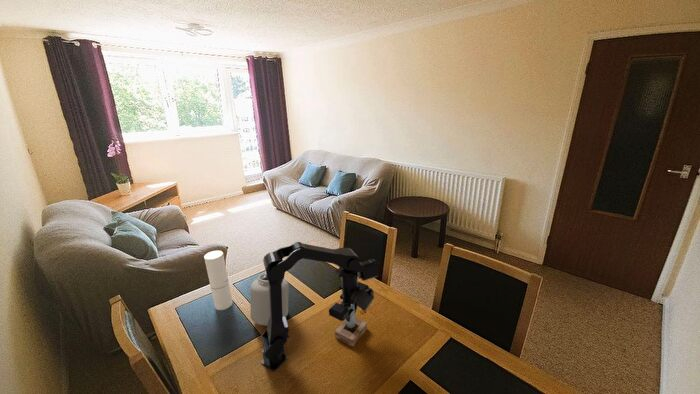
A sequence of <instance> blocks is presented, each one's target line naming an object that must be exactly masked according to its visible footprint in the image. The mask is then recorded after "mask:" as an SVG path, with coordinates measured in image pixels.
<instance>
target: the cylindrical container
mask: <svg viewBox="0 0 700 394" xmlns="http://www.w3.org/2000/svg"><path fill="white" fill-rule="evenodd" d="M203 258H204V259H203V260H204V262H205V267H206V273H207V277H208V281H209V286H210V291H211V295H212V298H213V299H212V300H213V303H214V308H215V310H217V311H224V310H227V309H228V308H230V307H231V306H232V305H233V298H232V297H233V296H232V292H231V287H230V283H229V277H228V271H227V267H226V261H225V257H224V252H223V251H222V250H212V251H209V252H207V253H206V254H204V256H203Z"/></svg>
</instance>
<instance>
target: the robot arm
mask: <svg viewBox="0 0 700 394" xmlns="http://www.w3.org/2000/svg"><path fill="white" fill-rule="evenodd" d="M284 258H285V259H284ZM302 259H304V260H310V261H315V262H321V263H326V264H327V263H329V264H333V265H335V266H337V267H338V268H337V269H336V270H335V271H334V272H335V274H336V275H337V277H338V278H341V285H340V286H339V290H341V295H339V299H341V300H342V301H341V302H340V303H339V302H335V303H334V304H332V306H331V307H330V308H328V315H329V316H330V317H332V318H334V319H337V320H338V321H340V322H344V321H345V319H346V320H347V321H348V322H350V316H351V313H352V312H353V311H354V310H353V309H351V304H352V305H354V306H355V314H356V313H357V310H358V307H359V308H360V309H361V310H362V311H367V309H368V308H369V307H370V306H371V305H372V302H373V300H374V299H375V296H374V295H375V293H374V289H372V288H370V287H369V285H368V284H366V283H362V282H360V281H359V280H361V281H363V282H364V281H365V282H366V281H368V280H371V279H375V278H378V277H379V275H380V271H379V268H378V265H377V261H376V260H375V259H374V258H371V259H368V260H365V261H360V258H359V256H358V255H357V254H356V253H355V252H354V250H353V249H352V248H349V247H339V248H328V247H322V246H318V245H314V244H313V245H312V244H307V243H303V242H301V241H295V242H293V243H292V244H289V245H287V246H282V247H279V248H278V249H275V250H274V251H270V252H268V253H266V254H265V256H264V257H263V259H262V261H263V266H264V270H265V273H266V274H267V278H268V283H269V304H270V318H269V321H268V325H266V329H265V331H263V333H262V334H261V336H260V337H261V342H262V348H263V349H262V350H261V352H262V360H261V361H260V363H261V364H262V365H263V366H264V367H266V368H267V369H269V370H271V372H276V370H277V369H279V367H280V366H281V365H282V364H283V363H285V361H286V360H287V359H288V356H287V355H286V354H285V344H287V343H288V339H289V338H290V334H289V329H290V325H289V322H288V320H287V316H283V315H282V281H283V279H284V278H285V275H286V274H285V273H286V272H287V271H289V270H291V269H292V268H293V267H294V266H295V265H296V264H297V263H298V262H299V261H301V260H302Z"/></svg>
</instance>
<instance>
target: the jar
mask: <svg viewBox="0 0 700 394" xmlns="http://www.w3.org/2000/svg"><path fill="white" fill-rule="evenodd" d="M249 288H250V290H249V291H250V298H249V299H250V301H249V302H250V303H249V304H250V306H249V307H250V308H249V309H250V319H251V320H252V322H253V323H255V324H257V325H259V326H267V325H268V321H269V318H270V304H269V283H268V278H267V274H266V272H264V273H261V274H260V275H258V276H257V278H256V279H255V280H253V282H251V284H250V287H249ZM288 314H289V281H288V279H286V278H285V277H284V279H283V281H282V315H283V316H286V317H287V316H288Z"/></svg>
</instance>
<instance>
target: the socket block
mask: <svg viewBox="0 0 700 394" xmlns="http://www.w3.org/2000/svg"><path fill="white" fill-rule="evenodd" d="M348 329H350V328H349V327H348V326H347V320H346V319H345V320H344V321H342V323H341V324H340V325H339V326H338V327H337V328H336V330H335V331H334V337H335V339H337V340H339V341H341V342H342V343H345V344H346V345H348V346H350V347H355V345H356V344H357V343H358V342H359V340H360V339H361V338H362V337H363V335H364V334H365V333H366V331H367V330H368V322H367V321H365V320H362V319H360V318H358V317H356V316H355V326H354V327H353V328H352V329H353V330H354V332H351V331H349V330H348Z"/></svg>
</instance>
